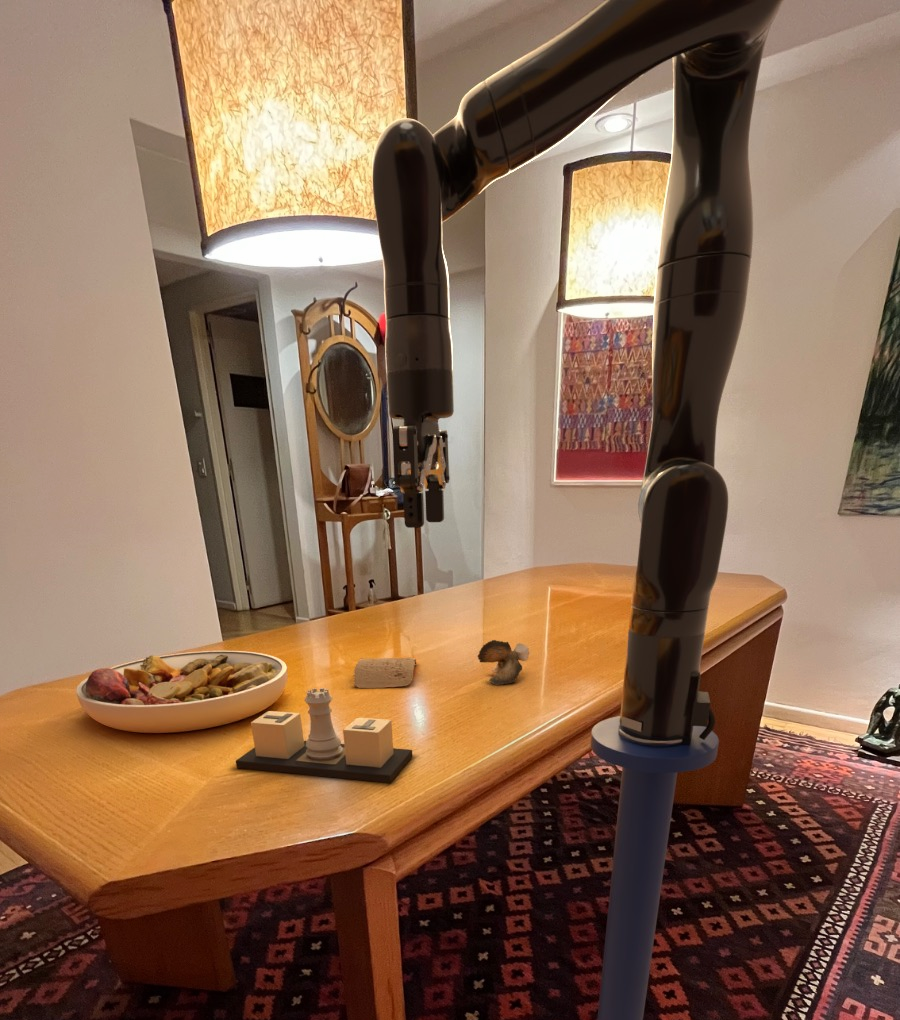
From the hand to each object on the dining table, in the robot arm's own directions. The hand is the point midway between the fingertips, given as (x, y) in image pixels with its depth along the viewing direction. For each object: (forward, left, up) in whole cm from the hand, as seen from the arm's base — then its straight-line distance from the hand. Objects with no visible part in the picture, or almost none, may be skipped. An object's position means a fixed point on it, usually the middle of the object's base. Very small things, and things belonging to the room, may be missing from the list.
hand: (425, 524), depth 83 cm
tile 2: (+3, +16, -25) cm, 30 cm away
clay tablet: (+15, -22, -26) cm, 37 cm away
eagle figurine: (-5, -25, -26) cm, 37 cm away
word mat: (+9, +16, -26) cm, 32 cm away
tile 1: (+15, +16, -25) cm, 33 cm away
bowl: (+39, 0, -26) cm, 47 cm away
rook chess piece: (+9, +16, -25) cm, 31 cm away
